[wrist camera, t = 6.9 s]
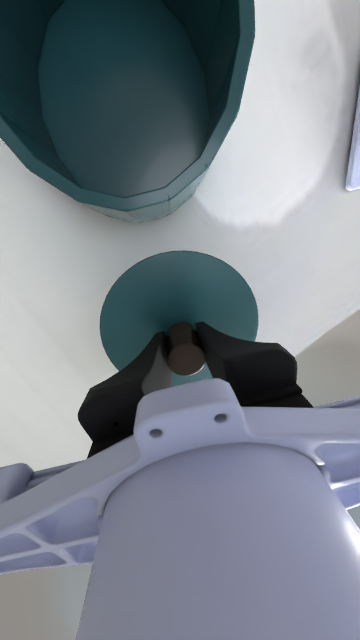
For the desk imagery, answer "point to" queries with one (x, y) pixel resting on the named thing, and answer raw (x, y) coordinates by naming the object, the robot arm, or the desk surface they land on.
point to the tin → (122, 95)
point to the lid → (176, 310)
